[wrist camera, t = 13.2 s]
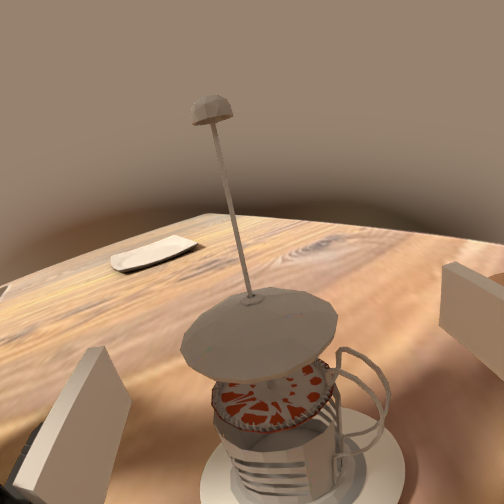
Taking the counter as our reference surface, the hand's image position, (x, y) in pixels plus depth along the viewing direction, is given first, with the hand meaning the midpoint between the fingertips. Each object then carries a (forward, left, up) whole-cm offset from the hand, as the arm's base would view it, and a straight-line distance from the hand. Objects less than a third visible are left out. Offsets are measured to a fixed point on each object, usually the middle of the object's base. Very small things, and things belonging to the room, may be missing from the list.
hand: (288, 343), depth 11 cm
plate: (-95, +19, -18) cm, 98 cm away
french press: (-4, +2, -16) cm, 16 cm away
